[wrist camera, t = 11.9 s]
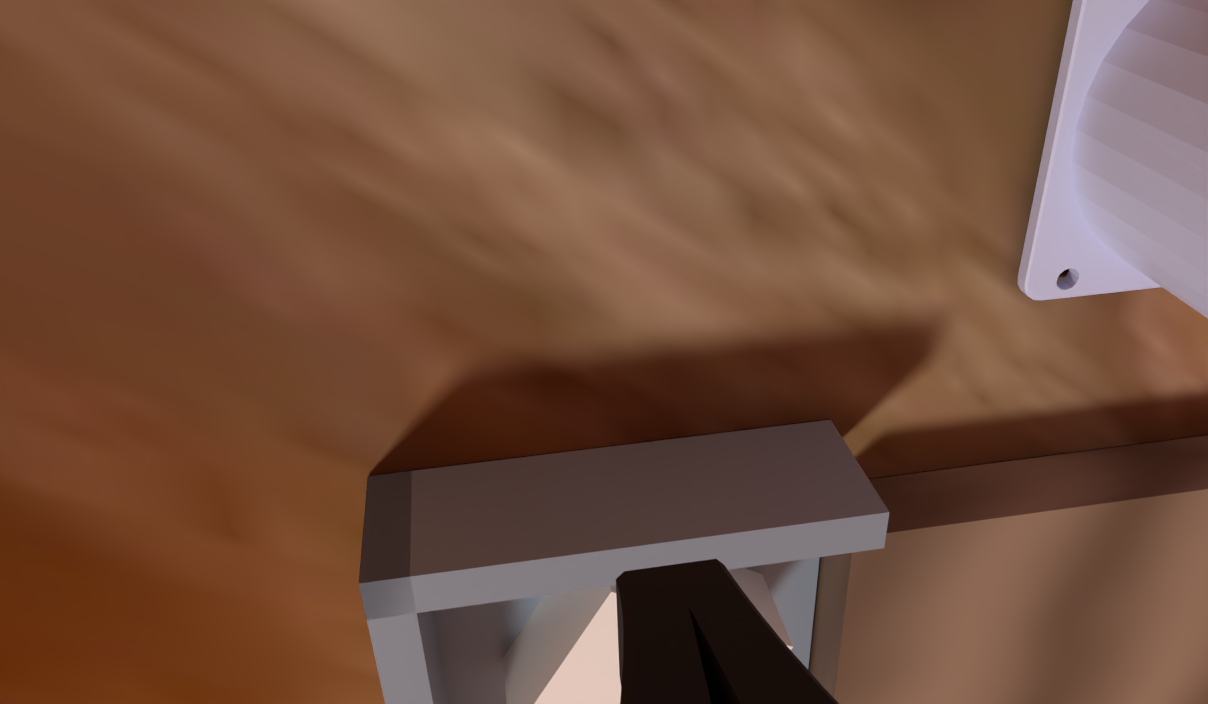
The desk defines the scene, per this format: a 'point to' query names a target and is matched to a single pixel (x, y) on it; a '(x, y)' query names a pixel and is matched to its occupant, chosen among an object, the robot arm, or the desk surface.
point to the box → (594, 540)
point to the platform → (1027, 585)
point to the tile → (590, 645)
